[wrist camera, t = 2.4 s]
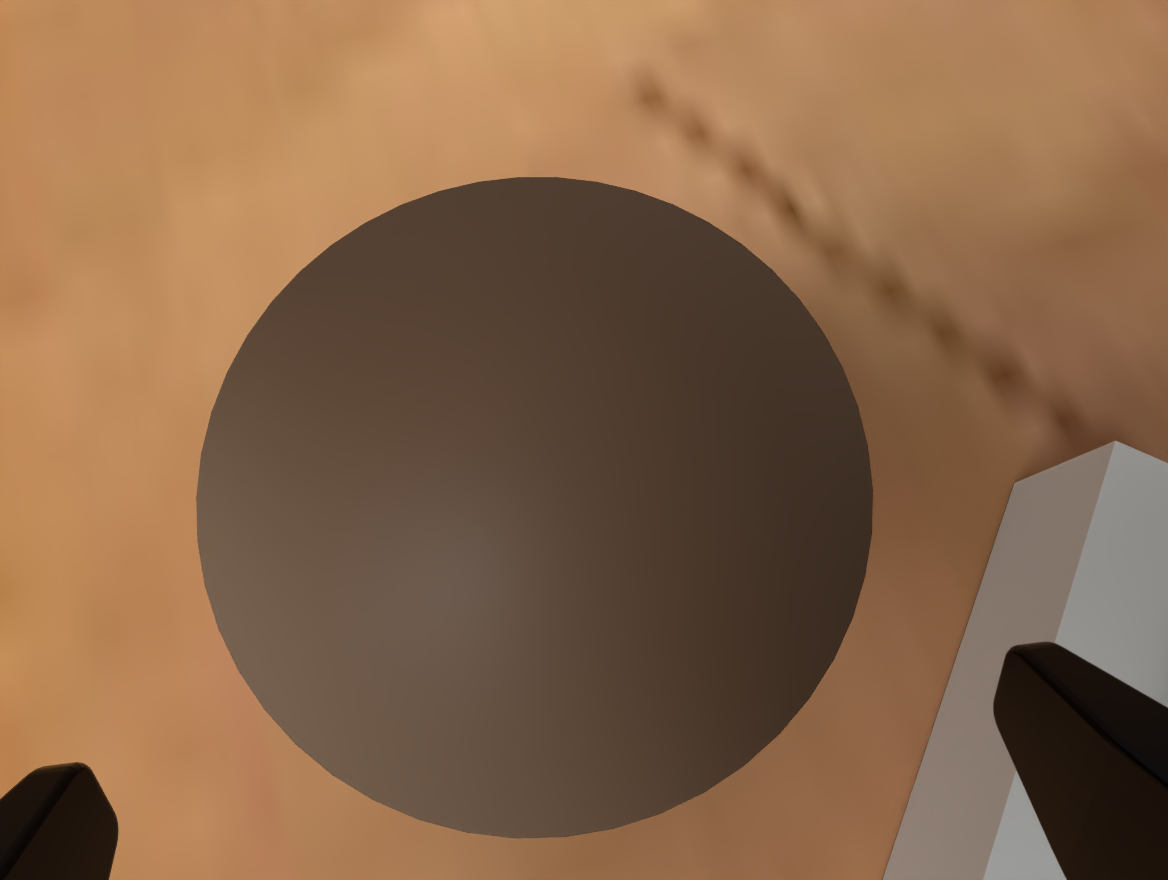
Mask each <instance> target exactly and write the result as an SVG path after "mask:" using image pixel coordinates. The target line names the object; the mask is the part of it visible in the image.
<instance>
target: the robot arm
mask: <svg viewBox="0 0 1168 880" xmlns="http://www.w3.org/2000/svg"><path fill="white" fill-rule="evenodd" d="M993 713H994V719H995V722H996V725H997V728H998V730H999V733H1000V735H1001V737H1002V739H1003V742H1004V744H1005V746H1006V748H1007V750H1008V753H1009V755H1010V757H1011V759H1012V762H1013V764H1014V766H1015V768H1016V771H1017V773H1018V775H1019V777H1020V780H1021V782H1022V784H1023V786H1024V789H1025V791H1026V793H1027V795H1028V798H1029V800H1030V802H1031V804H1032V806H1033V809H1034V811H1035V813H1036V815H1037V818H1038V820H1039V822H1040V824H1041V827H1042V829H1043V831H1044V833H1045V836H1046V838H1047V840H1048V842H1049V845H1050V847H1051V849H1052V851H1053V853H1054V855H1055V857H1056V859H1057V862H1058V864H1059V866H1060V868H1061V870H1062V872H1063V874H1064V876H1065V878H1066V880H1168V707H1166V706H1164V705H1163V704H1161V703H1159V702H1158V701H1156V700H1154V699H1152V698H1151V697H1149V696H1147V695H1145V694H1144V693H1142V692H1140V691H1139V690H1137V689H1135V688H1133V687H1132V686H1130V685H1128V684H1126V683H1125V682H1123V681H1121V680H1119V679H1118V678H1116V677H1114V676H1113V675H1111V674H1109V673H1107V672H1106V671H1104V670H1102V669H1100V668H1099V667H1097V666H1095V665H1093V664H1092V663H1090V662H1088V661H1087V660H1085V659H1083V658H1081V657H1080V656H1078V655H1076V654H1074V653H1073V652H1071V651H1069V650H1068V649H1066V648H1064V647H1062V646H1060V645H1058V644H1056V643H1053V642H1037V643H1029V644H1021V645H1015V646H1012V647H1011V648H1010V649H1009V650H1008V651H1007V653H1006V655H1005V658H1004V662H1003V666H1002V670H1001V674H1000V677H999V681H998V685H997V689H996V693H995V697H994V701H993ZM117 841H118V822H117V817H116V814H115V812H114V810H113V808H112V806H111V805H110V803H109V801H108V799H107V797H106V795H105V794H104V792H103V790H102V788H101V786H100V784H99V782H98V781H97V779H96V777H95V775H94V773H93V771H92V770H91V769H90V767H88V766H87V765H85V764H84V763H79V762H75V763H67V764H59V765H51V766H44V767H41V768H38V769H36V770H34V771H32V772H31V773H30V774H28V775H27V776H26V777H25V778H23V779H22V780H21V781H20V782H19V783H18V784H17V785H15V786H14V787H13V788H12V789H11V790H10V791H9V792H8V793H6V794H5V795H4V796H3V797H2V798H1V799H0V880H109V877H110V873H111V868H112V864H113V859H114V855H115V851H116V846H117Z"/></svg>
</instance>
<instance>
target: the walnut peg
mask: <svg viewBox="0 0 1168 880" xmlns="http://www.w3.org/2000/svg"><path fill="white" fill-rule="evenodd" d="M196 499H197V537H198V547H199V553H200V559H201V565H202V571H203V577H204V583H205V587H206V591H207V594H208V597H209V600H210V603H211V607H212V610H213V613H214V616H215V619H216V622H217V626H218V629H219V631H220V633H221V635H222V637H223V639H224V641H225V644H226V646H227V648H228V650H229V652H230V654H231V656H232V658H233V660H234V662H235V664H236V667H237V669H238V671H239V672H240V674H241V675H242V677H243V678H244V680H245V681H246V683H247V684H248V686H249V687H250V689H251V690H252V692H253V693H254V695H255V696H256V698H257V699H258V701H259V702H260V704H261V705H262V707H263V708H264V710H265V711H266V712H267V713H268V714H269V715H270V716H271V717H272V718H273V720H274V721H275V722H276V723H277V724H278V725H279V726H280V727H281V728H282V730H283V731H284V732H285V733H286V734H287V735H288V736H289V737H290V738H291V740H292V741H293V742H294V743H295V744H296V745H297V746H298V747H299V748H301V749H302V750H303V751H304V752H305V753H307V754H308V755H309V756H310V757H312V758H313V759H314V760H315V761H316V762H318V763H319V764H320V765H321V766H322V767H324V768H325V769H326V770H327V771H328V772H330V773H331V774H332V775H333V776H335V777H337V778H338V779H340V780H341V781H343V782H345V783H346V784H348V785H350V786H351V787H353V788H354V789H356V790H358V791H359V792H361V793H363V794H364V795H366V796H368V797H369V798H371V799H372V800H374V801H376V802H379V803H381V804H383V805H386V806H388V807H390V808H393V809H395V810H397V811H400V812H402V813H404V814H407V815H409V816H411V817H414V818H416V819H418V820H422V821H425V822H429V823H433V824H437V825H440V826H444V827H448V828H452V829H455V830H459V831H463V832H467V833H475V834H484V835H492V836H500V837H509V838H546V837H568V836H574V835H580V834H586V833H592V832H597V831H603V830H609V829H614V828H617V827H621V826H624V825H627V824H630V823H633V822H636V821H639V820H643V819H646V818H649V817H652V816H655V815H658V814H661V813H663V812H665V811H667V810H669V809H671V808H673V807H675V806H677V805H679V804H682V803H684V802H686V801H688V800H690V799H692V798H694V797H696V796H698V795H700V794H702V793H704V792H706V791H707V790H709V789H710V788H712V787H713V786H715V785H716V784H718V783H719V782H721V781H722V780H724V779H725V778H727V777H728V776H730V775H731V774H732V773H734V772H735V771H737V770H738V769H740V768H741V767H743V766H744V765H745V764H746V763H748V762H749V761H750V760H751V759H752V758H753V757H754V756H755V755H757V754H758V753H759V752H760V751H761V750H762V749H763V748H764V747H765V746H767V745H768V744H769V743H770V742H771V741H772V740H773V739H774V738H776V737H777V736H778V735H779V734H780V733H781V731H782V730H783V729H784V728H785V727H786V726H787V724H788V723H789V722H790V721H791V720H792V718H793V717H794V716H795V715H796V714H797V712H798V711H799V710H800V709H801V708H802V707H803V705H804V704H805V703H806V702H807V701H808V699H809V698H810V697H811V695H812V693H813V692H814V690H815V689H816V687H817V685H818V684H819V682H820V681H821V679H822V678H823V676H824V674H825V673H826V671H827V670H828V668H829V666H830V665H831V663H832V662H833V660H834V658H835V656H836V654H837V652H838V649H839V647H840V645H841V643H842V640H843V638H844V636H845V634H846V632H847V629H848V627H849V625H850V623H851V621H852V618H853V615H854V612H855V608H856V605H857V602H858V598H859V595H860V591H861V588H862V585H863V581H864V578H865V574H866V567H867V561H868V554H869V548H870V541H871V535H872V499H873V487H872V479H871V470H870V461H869V452H868V445H867V441H866V437H865V433H864V429H863V425H862V421H861V417H860V413H859V409H858V406H857V403H856V401H855V398H854V395H853V393H852V390H851V388H850V385H849V383H848V380H847V378H846V375H845V373H844V370H843V368H842V366H841V364H840V362H839V360H838V358H837V357H836V355H835V353H834V351H833V349H832V347H831V346H830V344H829V342H828V340H827V338H826V336H825V335H824V333H823V331H822V330H821V328H820V327H819V326H818V324H817V323H816V321H815V320H814V319H813V317H812V316H811V315H810V313H809V312H808V310H807V309H806V308H805V306H804V305H803V303H802V302H801V301H800V299H799V298H798V297H797V296H796V295H795V294H794V293H793V292H792V291H791V290H790V289H789V287H788V286H787V285H786V284H785V283H784V282H783V281H782V280H781V279H780V278H779V277H778V276H777V275H776V273H775V272H774V271H773V270H772V269H771V268H769V267H768V266H767V265H766V264H765V263H763V262H762V261H761V260H760V259H759V258H758V257H756V256H755V255H754V254H753V253H752V252H750V251H749V250H748V249H747V248H746V247H745V246H743V245H742V244H741V243H739V242H738V241H736V240H735V239H733V238H732V237H730V236H729V235H727V234H726V233H724V232H723V231H721V230H720V229H718V228H716V227H715V226H713V225H712V224H710V223H709V222H707V221H705V220H703V219H701V218H699V217H697V216H695V215H693V214H691V213H689V212H687V211H685V210H683V209H681V208H679V207H677V206H675V205H673V204H670V203H668V202H665V201H662V200H659V199H656V198H654V197H651V196H648V195H645V194H643V193H640V192H637V191H634V190H629V189H625V188H621V187H617V186H612V185H608V184H604V183H599V182H593V181H585V180H576V179H567V178H559V177H517V178H508V179H500V180H491V181H482V182H476V183H472V184H468V185H463V186H459V187H455V188H450V189H446V190H442V191H438V192H435V193H433V194H430V195H427V196H424V197H422V198H419V199H416V200H413V201H410V202H408V203H405V204H402V205H400V206H398V207H396V208H394V209H392V210H390V211H388V212H386V213H384V214H382V215H380V216H378V217H376V218H374V219H372V220H370V221H368V222H366V223H364V224H363V225H361V226H360V227H358V228H357V229H355V230H354V231H352V232H350V233H349V234H347V235H346V236H344V237H343V238H341V239H340V240H338V241H337V242H335V243H334V244H332V245H331V246H330V247H328V248H327V249H326V250H325V251H324V252H322V253H321V254H320V255H319V256H318V257H317V258H315V259H314V260H313V261H312V262H311V263H309V264H308V265H307V266H306V267H305V268H303V269H302V270H301V271H300V272H299V273H298V274H297V275H296V276H295V277H294V278H293V279H292V281H291V282H290V283H289V284H288V285H287V286H286V287H285V288H284V289H283V290H282V291H281V292H280V293H279V294H278V296H277V297H276V298H275V299H274V300H273V301H272V302H271V303H270V305H269V306H268V308H267V309H266V310H265V312H264V313H263V315H262V316H261V317H260V319H259V320H258V321H257V323H256V324H255V326H254V327H253V328H252V330H251V331H250V332H249V334H248V335H247V337H246V339H245V341H244V342H243V344H242V346H241V348H240V350H239V352H238V353H237V355H236V357H235V359H234V361H233V363H232V364H231V366H230V368H229V370H228V372H227V374H226V376H225V379H224V382H223V384H222V387H221V389H220V392H219V394H218V397H217V399H216V402H215V405H214V407H213V410H212V412H211V416H210V420H209V424H208V428H207V433H206V437H205V441H204V445H203V449H202V453H201V460H200V469H199V479H198V488H197V497H196Z"/></svg>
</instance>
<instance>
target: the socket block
mask: <svg viewBox="0 0 1168 880" xmlns="http://www.w3.org/2000/svg"><path fill="white" fill-rule="evenodd" d="M1037 642H1053V643H1056V644H1058V645H1060V646H1062V647H1064V648H1066V649H1068V650H1069V651H1071V652H1073V653H1074V654H1076V655H1078V656H1080V657H1081V658H1083V659H1085V660H1087V661H1088V662H1090V663H1092V664H1093V665H1095V666H1097V667H1099V668H1100V669H1102V670H1104V671H1106V672H1107V673H1109V674H1111V675H1113V676H1114V677H1116V678H1118V679H1119V680H1121V681H1123V682H1125V683H1126V684H1128V685H1130V686H1132V687H1133V688H1135V689H1137V690H1139V691H1140V692H1142V693H1144V694H1145V695H1147V696H1149V697H1151V698H1152V699H1154V700H1156V701H1158V702H1159V703H1161V704H1163V705H1164V706H1166V707H1168V463H1166V462H1164V461H1162V460H1159V459H1157V458H1155V457H1152V456H1150V455H1148V454H1146V453H1143V452H1141V451H1139V450H1136V449H1134V448H1132V447H1129V446H1127V445H1125V444H1122V443H1120V442H1118V441H1113V442H1111V443H1108V444H1106V445H1104V446H1101V447H1099V448H1097V449H1094V450H1092V451H1089V452H1087V453H1085V454H1082V455H1080V456H1077V457H1075V458H1073V459H1070V460H1068V461H1065V462H1063V463H1061V464H1058V465H1056V466H1054V467H1051V468H1049V469H1046V470H1044V471H1042V472H1039V473H1037V474H1034V475H1032V476H1030V477H1027V478H1025V479H1022V480H1020V481H1018V482H1015V483H1014V486H1013V489H1012V492H1011V495H1010V498H1009V501H1008V504H1007V507H1006V510H1005V513H1004V516H1003V519H1002V522H1001V525H1000V528H999V531H998V534H997V537H996V540H995V543H994V546H993V549H992V552H991V555H990V558H989V561H988V564H987V567H986V570H985V573H984V576H983V579H982V582H981V585H980V588H979V591H978V594H977V597H976V600H975V603H974V606H973V609H972V612H971V615H970V618H969V621H968V624H967V627H966V630H965V633H964V636H963V639H962V642H961V645H960V648H959V651H958V654H957V657H956V660H955V663H954V666H953V669H952V672H951V675H950V678H949V681H948V684H947V687H946V690H945V693H944V696H943V699H942V702H941V705H940V708H939V711H938V714H937V717H936V720H935V723H934V726H933V729H932V732H931V735H930V738H929V741H928V744H927V747H926V750H925V753H924V756H923V759H922V762H921V765H920V768H919V771H918V774H917V777H916V780H915V783H914V786H913V789H912V792H911V795H910V798H909V801H908V804H907V807H906V810H905V813H904V816H903V819H902V822H901V825H900V828H899V831H898V835H897V838H896V841H895V844H894V847H893V850H892V853H891V856H890V859H889V862H888V865H887V868H886V871H885V874H884V877H883V880H1066V878H1065V876H1064V874H1063V872H1062V870H1061V868H1060V866H1059V864H1058V862H1057V859H1056V857H1055V855H1054V853H1053V851H1052V849H1051V847H1050V845H1049V842H1048V840H1047V838H1046V836H1045V833H1044V831H1043V829H1042V827H1041V824H1040V822H1039V820H1038V818H1037V815H1036V813H1035V811H1034V809H1033V806H1032V804H1031V802H1030V800H1029V798H1028V795H1027V793H1026V791H1025V789H1024V786H1023V784H1022V782H1021V780H1020V777H1019V775H1018V773H1017V771H1016V768H1015V766H1014V764H1013V762H1012V759H1011V757H1010V755H1009V753H1008V750H1007V748H1006V746H1005V744H1004V742H1003V739H1002V737H1001V735H1000V733H999V730H998V728H997V725H996V722H995V719H994V713H993V701H994V697H995V693H996V689H997V685H998V681H999V677H1000V674H1001V670H1002V666H1003V662H1004V658H1005V655H1006V653H1007V651H1008V650H1009V649H1010V648H1011V647H1012V646H1015V645H1021V644H1029V643H1037Z"/></svg>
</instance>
